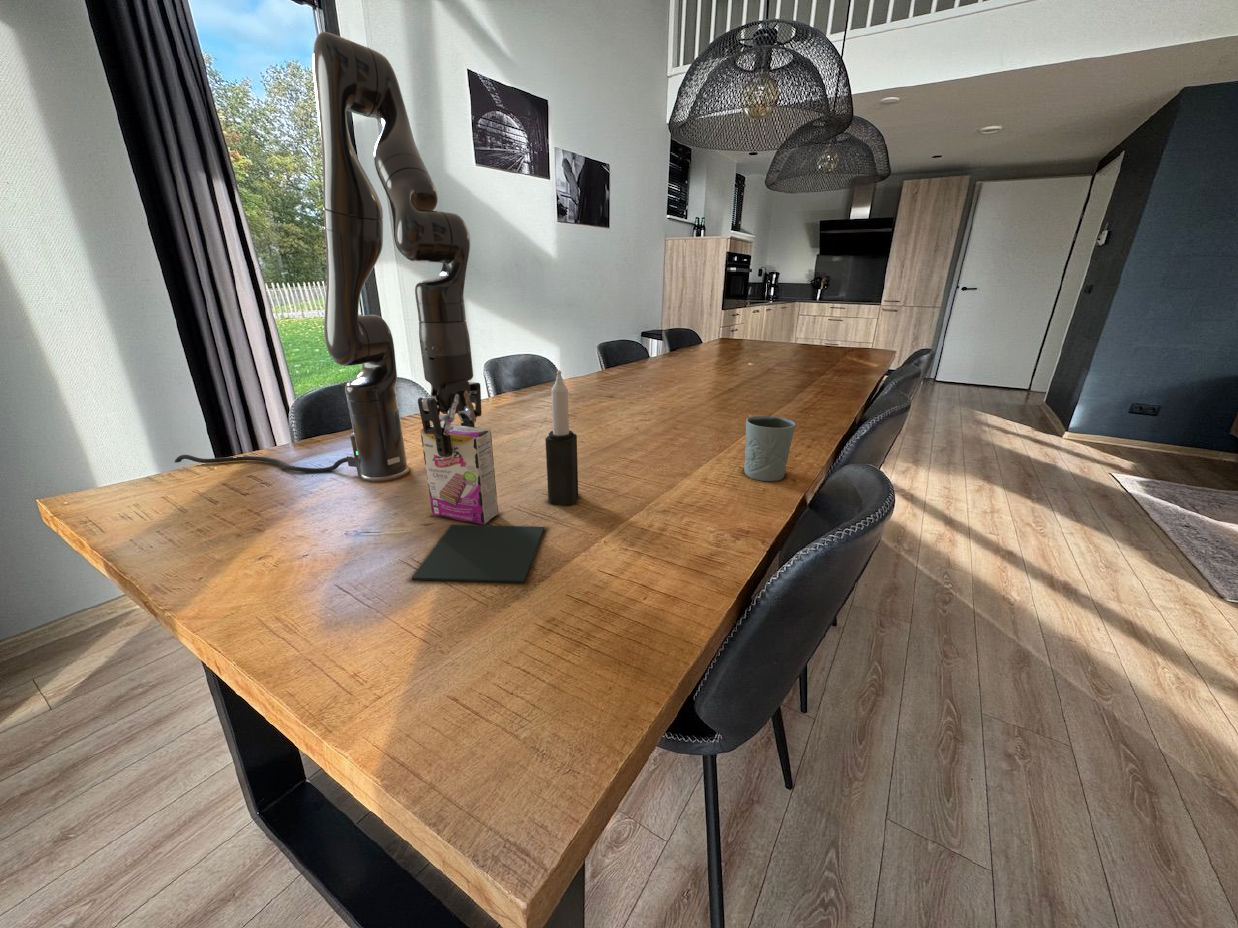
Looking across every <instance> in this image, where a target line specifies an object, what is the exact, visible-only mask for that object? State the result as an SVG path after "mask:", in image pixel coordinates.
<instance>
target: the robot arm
mask: <svg viewBox="0 0 1238 928" xmlns="http://www.w3.org/2000/svg"><path fill="white" fill-rule="evenodd" d="M312 51H313V53H312V70H313V71H312V73H313V82H314V92H315V93H314V94H315V101H316V110H317V117H318V126H319V134H320V135H319V136H320V146H321V147H320V148H321V161H322V195H323V196H322V202H323V203H322V207H323V208H322V210H323V229H324V241H325V261H326V263H325V264H326V265H325V266H326V288H325V290H326V291H325V304H324V321H323V323H324V324H323V329H324V330H323V331H324V332H323V333H324V334H323V335H324V342H325V347H326V349H327V353H328V354H329V356H330V358H331V359H332V360H333V361H334V362H335V363H336V364H337V365H340V366H343V367H351V366H359V365H362V366H361V370H360V371H359V372H358V374H357V375H356V376H355V377H354V378H352V379H351V380H349V381H348V382H347V383H345V385H344V393H345V399H346V402H347V407H348V412H349V417H350V420H351V421H350V422H351V428H352V432H351V433H350V435H349V436H350V437H349V438H350V442H351V447H352V452H353V453H351V454H349V455H347V456H346V457H342V458H340V459H338V460H337V461H335V462H334V463H333V465H331V466H326V467H305V466H297V465H291V464H288V463H286V462H285V461H282V460H281V459H277V458H273V457H267V456H257V455H242V456H243V457H238V456H235V457H237V458H233V457H234V456H226V457H214V458H213V457H212V458H202V457H197V456H193V455H190V454H181V455H179V456H177V457H176V458H175V459H174V463H181V462H182V461H183V460H188V461H192V462H195V463H200V464H214V463H216V464H217V463H228V462H238V461H240V462H241V461H254V462H265V463H271V464H276V465H278V466H281V467H282V468H284V469H285V470H288V471H294V472H299V473H310V474H311V473H314V474H315V473H328V472H331V471H335V470H336V469H338V468H339V467H340V466H341V465H342V464H343V463H347V466H348V467H352V468H355V469H356V472H357V476H358V477H360V478H361V479H362V480H363V481H368V482H375V483H376V482H386V481H387V482H388V481H392V480H396V479H399V478H401V477H404V476H405V475H407V474H408V473H409V470H410V469H409V465H408V459H407V454H406V448H405V439H404V435H403V428H402V422H401V421H402V420H401V414H400V410H399V409H400V408H399V404H398V397H397V391H396V386H397V382H398V372H397V363H396V362H397V361H396V352H395V351H396V350H395V342H394V338H393V334H392V331H391V329H390V325H388V323H387V322H386V320H385V319H384V318H382V317H381V316H379V315H377V314H359V306H360V298H361V294H362V291H363V288H364V286H365V283H366V282H367V280H368V279H369V277H370V275H371V273H372V271H373V269H374V268H375V266H376V264H377V262H378V260H379V258H380V256H381V254H382V250H383V245H384V209H383V206H382V203H381V199H380V198H379V196H378V193H377V191H376V190H375V188H374V186H373V184H372V182H371V179H370V178H369V176H368V175H367V173H366V171H365V169H364V168H363V166H362V163H361V162H360V160H359V158H358V156H357V154H356V150H355V148H354V146H353V143H352V139H351V135H350V131H349V125H348V124H349V123H348V118H347V112H349V113H352V114H355V115H359V116H363V117H365V118H370V119H376V120H377V121H378V122H379V123H380V124H381V126H382V130H381V132H380V135H379V136H378V138H377V141H376V143H375V145H374V151H373V161H374V167H375V171H376V174H377V177H378V178H379V181H380V183H381V185H382V187H383V190H384V192H385V194H386V196H387V198H388V201H389V205H390V210H391V216H392V225H393V227H392V228H393V239H394V244H395V247H396V248H397V250H398V252H399V253H400V254H401V255H402V256H403V257H404V258H405V259H407V260H409V261H410V262H412V263H413V262H414V263H424V264H427V263H429V264H430V263H432V264H442V266H441V269H440V272H439V274H438V276H437V277H434V278H430V279H425V280H421V281H419V282H417V284H416V285H415V287H414V288H415V289H414V296H415V303H416V311H417V318H418V338H419V346H420V347H419V348H420V353H421V361H422V367H423V375H424V376H423V377H424V380H425V381H426V382H428V384H430V386H431V388H430V395H428V396H425V397H422V396H421V397H418V398H417V405H418V411H419V414H420V419H421V424H422V429H424V433H425V434H434V435H435V439H436V445H437V452H438V454H439V456H442V457H450V456H451V455H452V447H451V439H450V435H448V434H449V430H450V425H451V424H452V423H453V422H454V421H455V417H456V414H457V415H458V418H459V420H460V421H461V422H460V426H468V427H476V425H475V423H476V422H477V418H478V417H482V391H481V383H480V382H474V381H471V380H472V379H473V378H474V368H473V359H472V358H473V357H472V350H471V349H472V348H471V339H470V338H471V337H470V332H469V329H468V324H467V323H468V322H467V314H466V306H465V295H464V293H465V285H466V284H465V283H466V276H467V270H468V269H467V268H468V263H469V258H470V251H471V234H470V231H469V228H468V226H467V224H466V221H464V219H463V218H462V217H461V216H460V215H459V214H457V213H455V212H450V211H438V210H435V209H436V208H437V205H438V202H439V196H438V191H437V189H436V186H435V183H434V181H433V180H432V177H431V175H430V173H429V171H428V169H427V166H426V165H425V163H424V161H423V158H422V157H421V154H420V153H419V150H418V148H417V144H416V142H415V139H414V135H413V131H412V127H411V124H410V119H409V115H408V112H407V109H406V105H405V102H404V98H403V94H402V91H401V87H400V84H399V81H398V78H397V76H396V73H395V70H394V68H393V66H392V64H391V63H390V61H389V60H388V58H387V57H386V56H384V55H383V54H382V53H380V52H378V51H377V50H375V49H372V48H370V47H368V46H366V45H365V46H364V45H362V44H360V43H357V42H354V41H352V40H349V39H346V38H345V37H343V36H339V35H338V34H334V33H331V32H328V31H322V32H320V33H318V34H317V36H316V38H315V41H314V44H313V50H312ZM473 404H474V405H473ZM442 422H443V423H444V424H443V428H441V424H440V423H442ZM431 423H432V424H431ZM431 425H433V426H431Z"/></svg>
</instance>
